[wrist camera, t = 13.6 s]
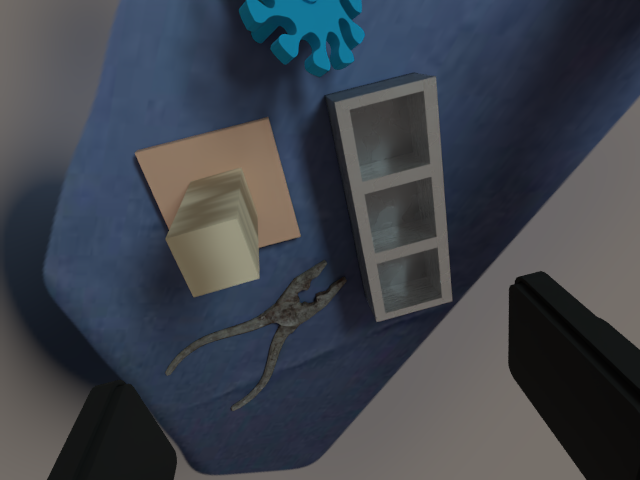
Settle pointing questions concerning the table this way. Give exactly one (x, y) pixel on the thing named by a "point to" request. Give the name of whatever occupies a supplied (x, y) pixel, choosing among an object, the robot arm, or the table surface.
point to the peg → (216, 233)
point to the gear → (307, 29)
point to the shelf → (394, 191)
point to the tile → (220, 156)
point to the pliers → (282, 312)
